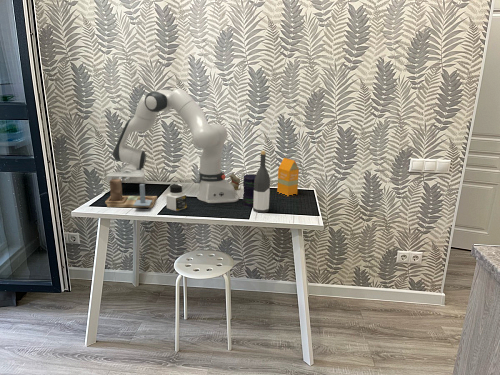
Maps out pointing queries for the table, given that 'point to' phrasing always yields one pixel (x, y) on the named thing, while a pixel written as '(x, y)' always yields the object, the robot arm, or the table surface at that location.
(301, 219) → the table surface
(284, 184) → the orange juice
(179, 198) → the medicine bottle
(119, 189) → the walnut block
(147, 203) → the grey post on base
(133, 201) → the board
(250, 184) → the storage jar
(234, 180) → the chocolate bunny
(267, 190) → the wine bottle
